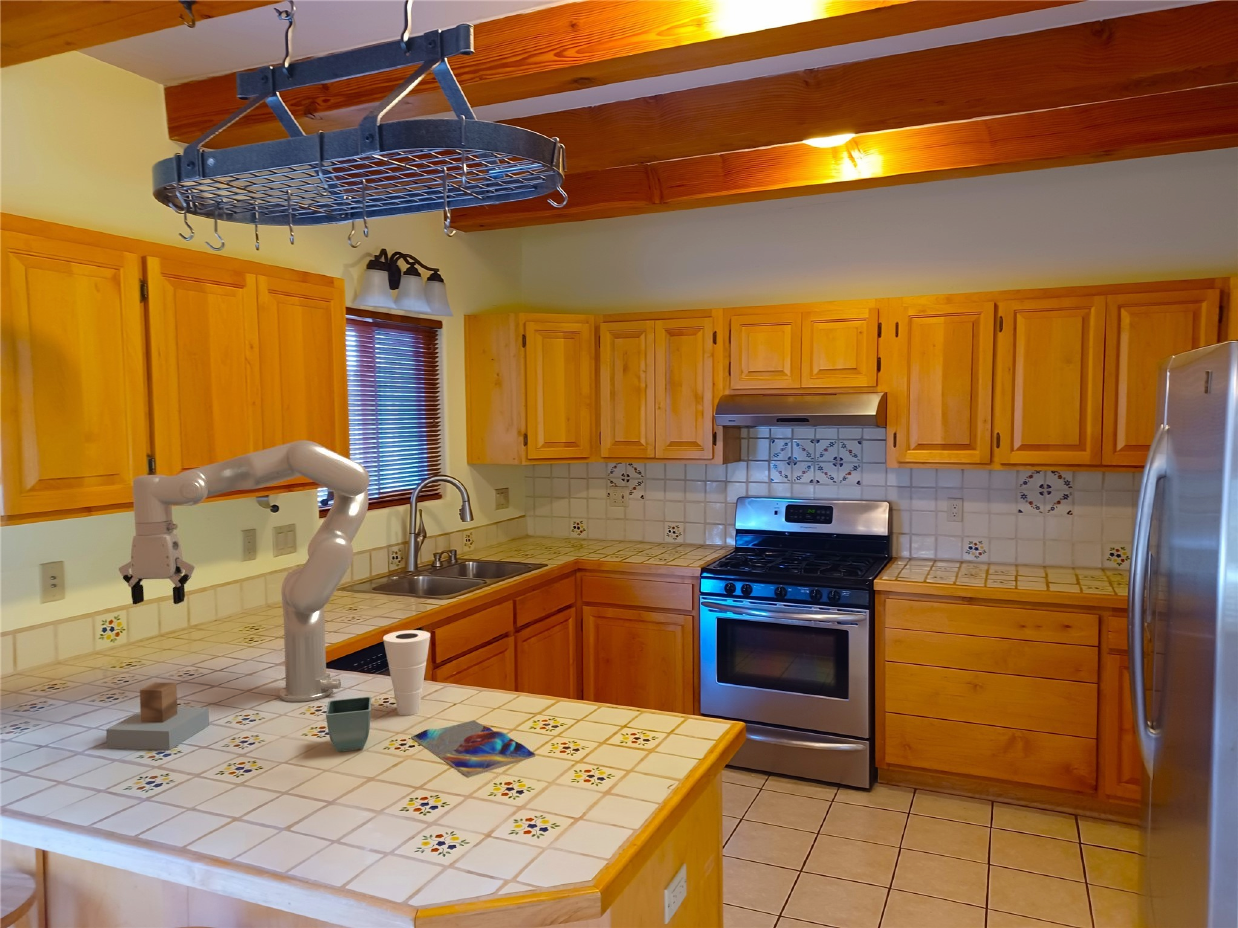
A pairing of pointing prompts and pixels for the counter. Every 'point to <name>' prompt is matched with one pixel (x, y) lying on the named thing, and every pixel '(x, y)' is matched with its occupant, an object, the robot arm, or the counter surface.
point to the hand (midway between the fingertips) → (158, 602)
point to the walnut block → (158, 702)
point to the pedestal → (157, 730)
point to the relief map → (473, 747)
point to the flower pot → (349, 722)
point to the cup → (407, 667)
